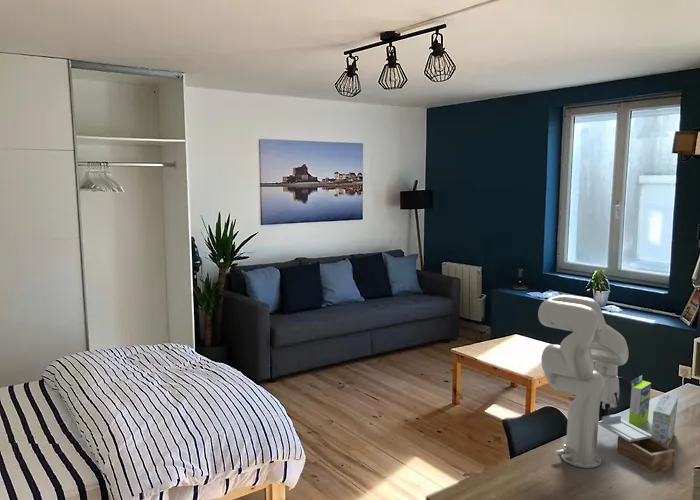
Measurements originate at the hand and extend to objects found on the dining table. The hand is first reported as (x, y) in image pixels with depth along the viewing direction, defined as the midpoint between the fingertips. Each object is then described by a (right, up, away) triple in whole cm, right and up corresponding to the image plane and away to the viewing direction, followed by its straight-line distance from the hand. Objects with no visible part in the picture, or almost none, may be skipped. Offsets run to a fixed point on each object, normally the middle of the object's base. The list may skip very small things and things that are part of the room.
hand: (602, 417), depth 203 cm
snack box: (+19, -8, -4) cm, 21 cm away
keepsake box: (+6, -9, -17) cm, 20 cm away
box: (+19, -6, +12) cm, 24 cm away
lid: (+3, -2, -9) cm, 10 cm away
